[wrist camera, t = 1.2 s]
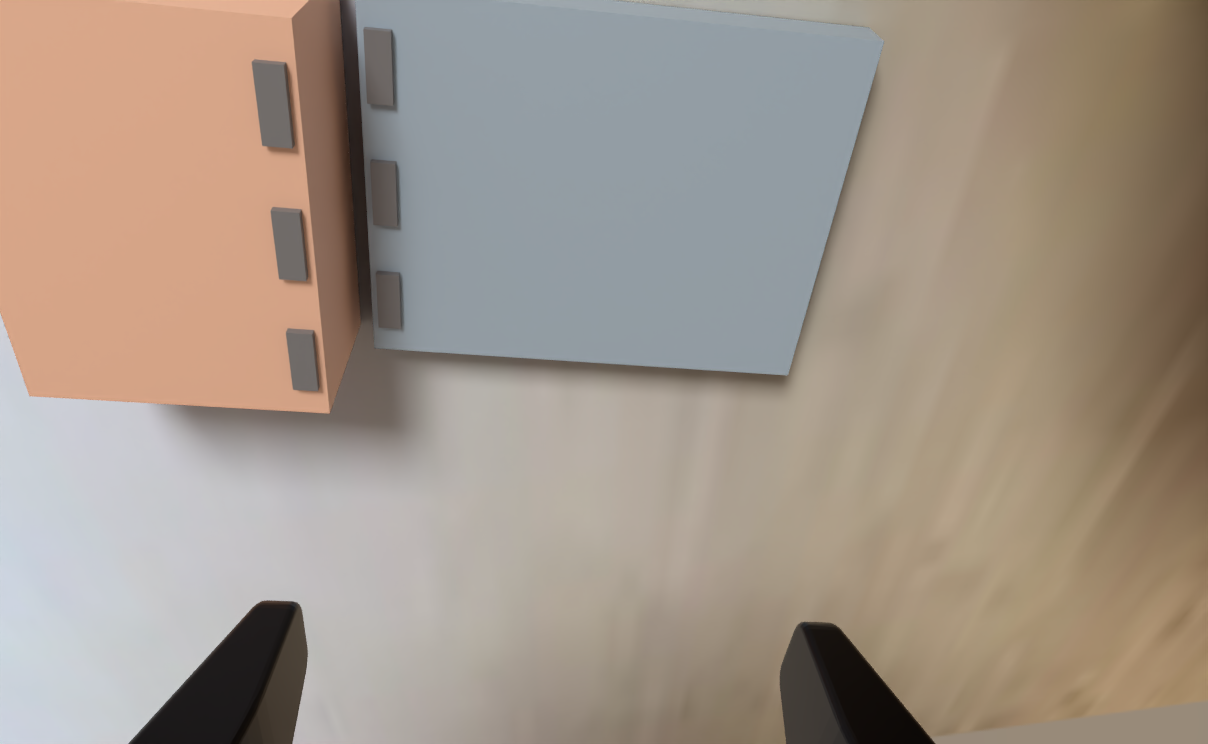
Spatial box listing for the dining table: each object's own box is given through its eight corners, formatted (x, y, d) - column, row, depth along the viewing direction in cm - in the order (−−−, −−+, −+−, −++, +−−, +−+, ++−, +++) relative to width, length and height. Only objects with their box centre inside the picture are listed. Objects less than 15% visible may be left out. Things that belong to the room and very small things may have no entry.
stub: (337, -29, 16) (288, 20, 13) (360, 324, 21) (328, 418, 18) (3, -65, 16) (-125, -22, 13) (102, 306, 21) (25, 401, 18)
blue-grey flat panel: (869, 28, 17) (886, 43, 17) (779, 352, 22) (789, 379, 21) (364, -27, 16) (352, -13, 16) (381, 325, 21) (373, 352, 20)
